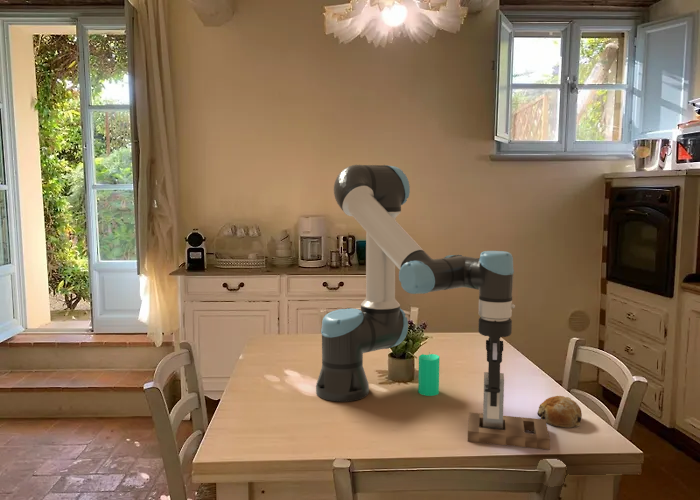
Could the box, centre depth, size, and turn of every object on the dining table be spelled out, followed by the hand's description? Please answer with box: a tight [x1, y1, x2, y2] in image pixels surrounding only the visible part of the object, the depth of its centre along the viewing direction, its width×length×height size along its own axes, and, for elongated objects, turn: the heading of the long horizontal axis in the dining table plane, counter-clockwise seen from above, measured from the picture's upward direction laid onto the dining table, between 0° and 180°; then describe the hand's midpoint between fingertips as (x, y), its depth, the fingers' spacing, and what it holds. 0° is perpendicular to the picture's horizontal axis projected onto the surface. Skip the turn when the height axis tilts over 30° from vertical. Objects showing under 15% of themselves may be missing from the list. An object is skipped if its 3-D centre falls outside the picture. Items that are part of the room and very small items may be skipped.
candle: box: [417, 353, 440, 397], centre depth 161 cm, size 6×6×12 cm
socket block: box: [467, 412, 551, 451], centre depth 134 cm, size 18×11×2 cm, turn 76°
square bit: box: [482, 371, 505, 430], centre depth 134 cm, size 4×4×12 cm
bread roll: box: [536, 395, 583, 429], centre depth 142 cm, size 10×10×8 cm
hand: (492, 413), depth 134 cm, fingers closed on square bit, 4 cm apart
